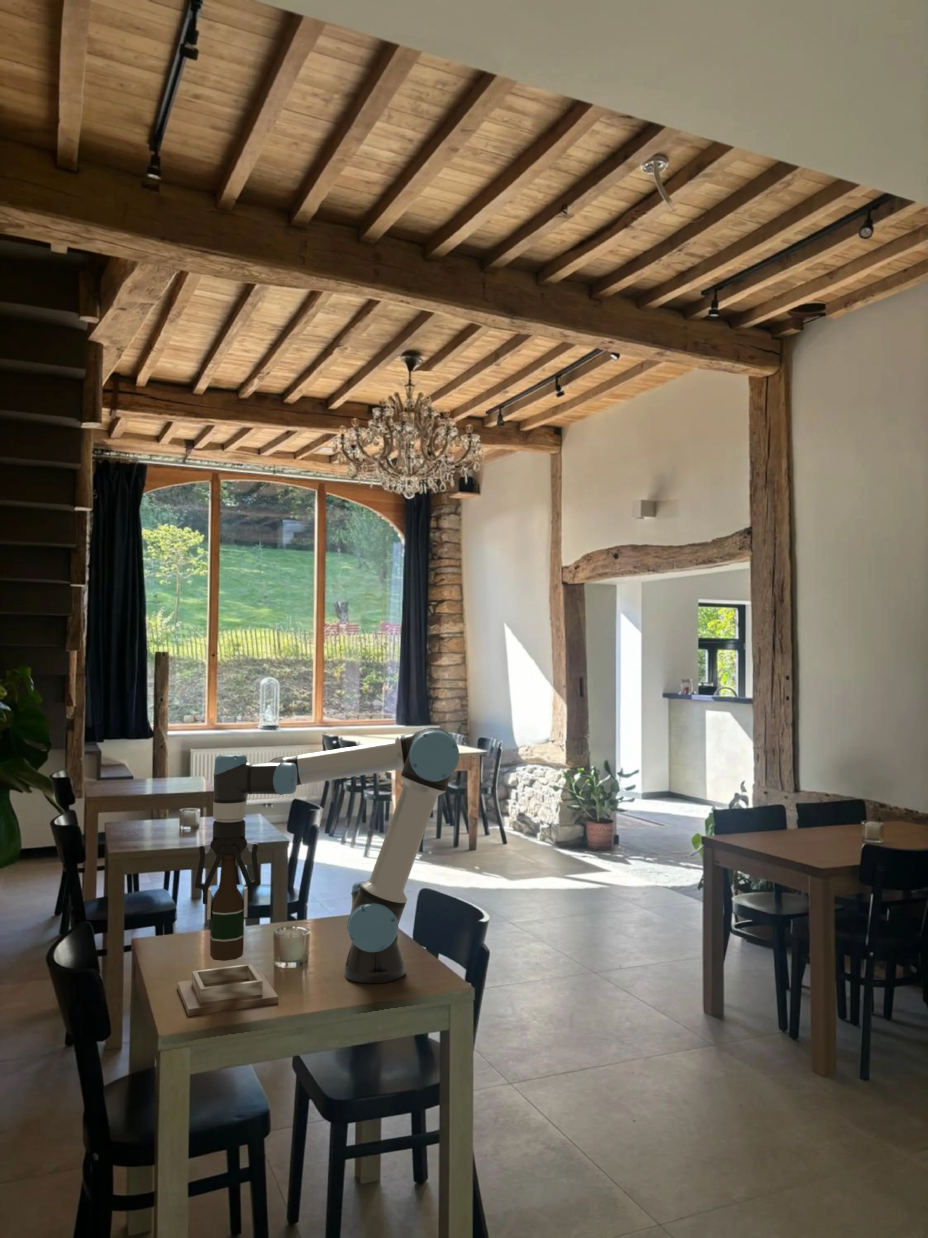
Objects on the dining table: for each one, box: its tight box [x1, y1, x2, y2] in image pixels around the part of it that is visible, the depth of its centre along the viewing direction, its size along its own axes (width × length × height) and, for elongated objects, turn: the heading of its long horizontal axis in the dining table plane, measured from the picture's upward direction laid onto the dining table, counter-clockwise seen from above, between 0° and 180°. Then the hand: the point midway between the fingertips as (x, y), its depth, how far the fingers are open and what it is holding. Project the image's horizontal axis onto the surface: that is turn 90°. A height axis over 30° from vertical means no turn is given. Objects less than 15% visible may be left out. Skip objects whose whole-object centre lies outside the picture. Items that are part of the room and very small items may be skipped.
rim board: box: [177, 963, 279, 1017], centre depth 217 cm, size 20×20×4 cm
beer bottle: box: [209, 854, 245, 962], centre depth 218 cm, size 8×8×24 cm
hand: (227, 917), depth 218 cm, fingers closed on beer bottle, 8 cm apart
